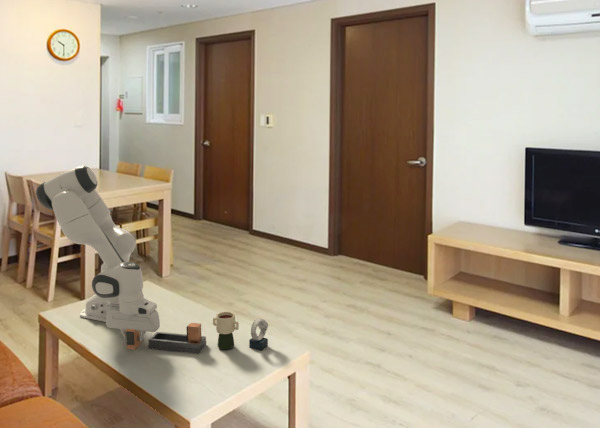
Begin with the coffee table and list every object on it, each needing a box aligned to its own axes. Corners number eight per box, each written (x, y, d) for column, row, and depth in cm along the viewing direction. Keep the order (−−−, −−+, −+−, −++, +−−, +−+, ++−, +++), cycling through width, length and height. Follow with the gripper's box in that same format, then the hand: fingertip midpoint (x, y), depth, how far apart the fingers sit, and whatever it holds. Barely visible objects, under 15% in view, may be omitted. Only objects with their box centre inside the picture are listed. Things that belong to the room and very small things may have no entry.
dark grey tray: (148, 348, 191) (147, 325, 189) (157, 339, 199) (156, 316, 197) (198, 354, 188) (198, 330, 186) (206, 344, 196) (205, 321, 194)
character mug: (243, 345, 195) (242, 314, 192) (233, 353, 189) (233, 321, 186) (218, 340, 199) (217, 309, 196) (208, 348, 192) (207, 316, 190)
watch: (270, 344, 197) (270, 317, 195) (259, 352, 190) (259, 325, 188) (258, 340, 199) (258, 314, 197) (246, 349, 192) (246, 322, 190)
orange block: (132, 343, 195) (131, 324, 193) (140, 344, 194) (139, 325, 193) (126, 349, 191) (125, 329, 189) (134, 350, 190) (133, 330, 188)
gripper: (101, 306, 188) (103, 340, 191) (153, 310, 185) (154, 346, 187) (110, 299, 194) (112, 333, 197) (160, 304, 191) (162, 338, 194)
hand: (133, 339), depth 192 cm, fingers open, 4 cm apart
